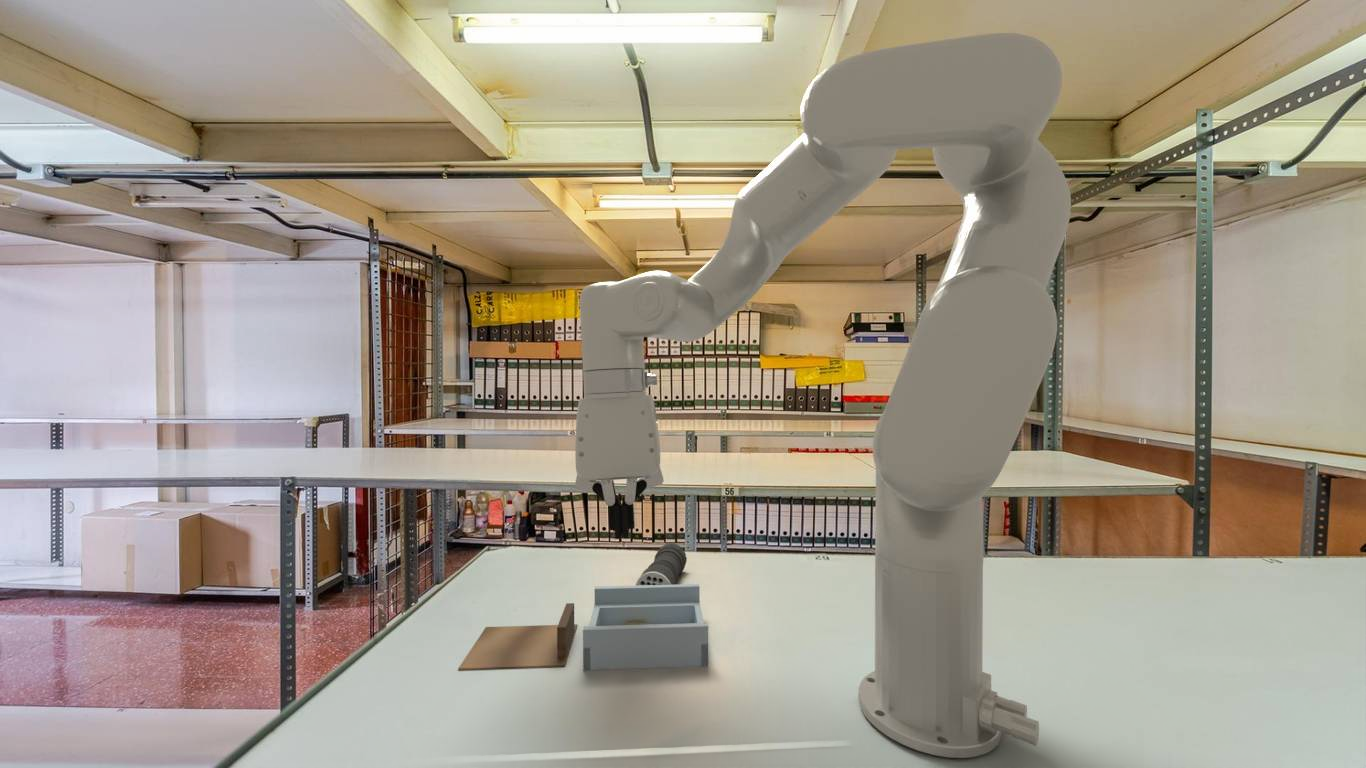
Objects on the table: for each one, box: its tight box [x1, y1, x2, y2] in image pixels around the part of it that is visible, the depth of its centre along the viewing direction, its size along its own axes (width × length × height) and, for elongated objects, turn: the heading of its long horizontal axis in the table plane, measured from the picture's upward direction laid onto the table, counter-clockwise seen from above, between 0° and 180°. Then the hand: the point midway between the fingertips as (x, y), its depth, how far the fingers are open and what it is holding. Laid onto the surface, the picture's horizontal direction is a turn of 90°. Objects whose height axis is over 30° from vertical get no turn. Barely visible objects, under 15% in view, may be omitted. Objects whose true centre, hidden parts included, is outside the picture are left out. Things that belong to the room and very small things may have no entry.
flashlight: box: [634, 543, 688, 586], centre depth 82 cm, size 15×5×5 cm, turn 171°
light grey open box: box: [582, 583, 709, 671], centre depth 64 cm, size 14×12×5 cm
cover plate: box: [457, 602, 578, 672], centre depth 63 cm, size 12×10×5 cm
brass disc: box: [622, 621, 650, 625], centre depth 66 cm, size 4×4×1 cm
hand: (622, 535), depth 63 cm, fingers closed
